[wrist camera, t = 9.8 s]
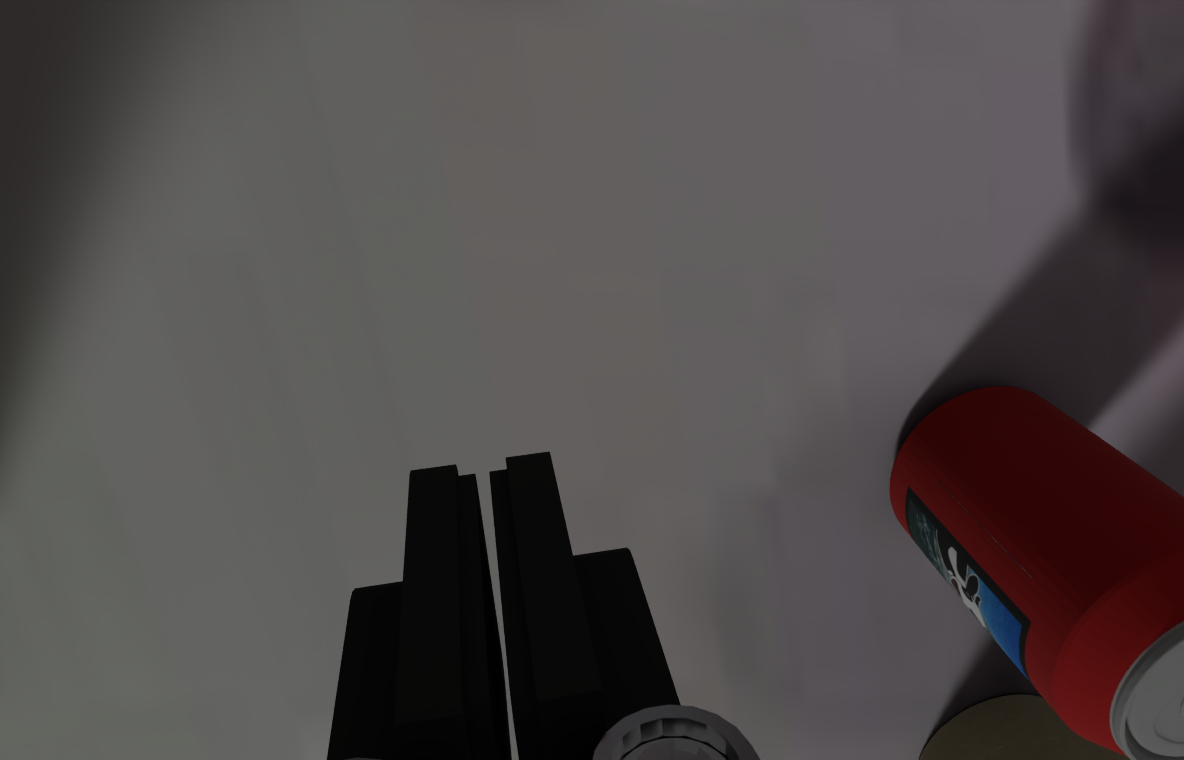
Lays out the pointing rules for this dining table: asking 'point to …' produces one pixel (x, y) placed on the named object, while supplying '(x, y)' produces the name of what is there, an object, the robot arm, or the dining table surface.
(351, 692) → the robot arm
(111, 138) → the dining table surface
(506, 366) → the dining table surface
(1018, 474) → the beverage can
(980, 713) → the plant pot
